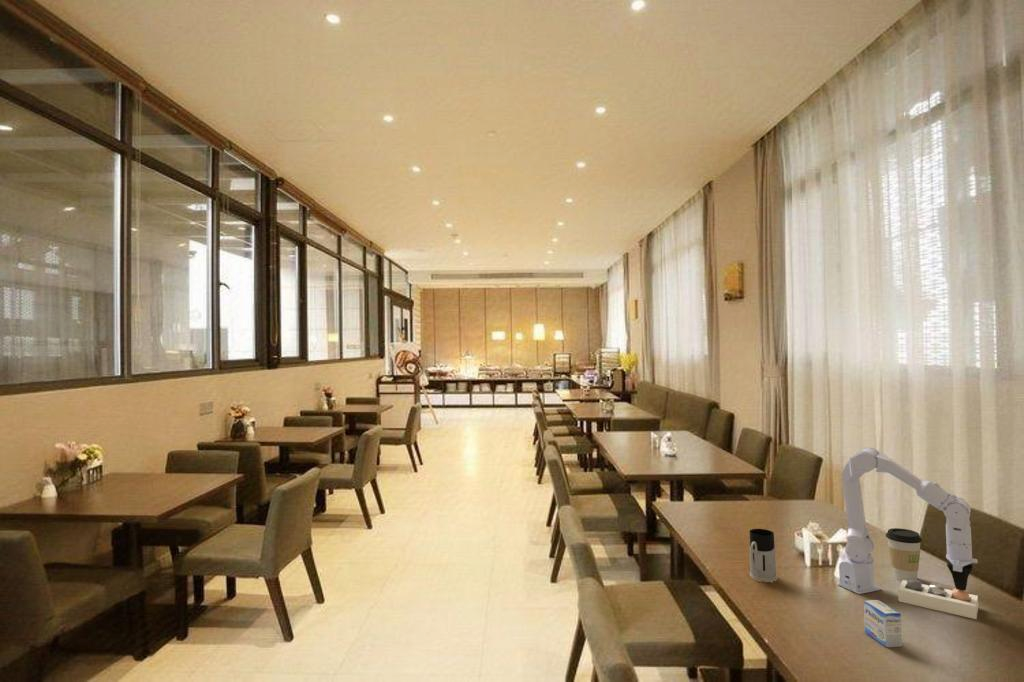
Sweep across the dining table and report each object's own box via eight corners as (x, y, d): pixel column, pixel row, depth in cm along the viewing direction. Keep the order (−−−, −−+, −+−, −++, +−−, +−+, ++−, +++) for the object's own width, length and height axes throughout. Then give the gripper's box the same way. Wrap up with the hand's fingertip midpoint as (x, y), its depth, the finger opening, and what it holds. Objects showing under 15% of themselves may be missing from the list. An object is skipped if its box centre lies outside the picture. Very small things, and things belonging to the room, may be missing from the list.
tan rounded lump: (952, 601, 161) (952, 591, 161) (953, 597, 164) (953, 586, 164) (968, 605, 159) (968, 594, 159) (969, 600, 161) (969, 590, 162)
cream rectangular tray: (898, 601, 168) (898, 589, 168) (903, 591, 174) (902, 579, 174) (976, 619, 156) (975, 606, 156) (978, 607, 162) (977, 595, 162)
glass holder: (781, 576, 188) (779, 531, 188) (766, 590, 178) (764, 542, 178) (754, 570, 194) (753, 526, 194) (738, 583, 184) (737, 537, 184)
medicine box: (864, 632, 150) (863, 600, 150) (879, 631, 151) (878, 599, 151) (886, 648, 142) (884, 613, 142) (902, 647, 143) (901, 612, 143)
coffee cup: (930, 585, 178) (928, 537, 178) (895, 583, 180) (893, 536, 180) (914, 573, 188) (912, 528, 188) (881, 571, 190) (880, 527, 190)
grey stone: (906, 591, 169) (906, 581, 169) (908, 587, 171) (907, 577, 171) (921, 594, 166) (920, 584, 166) (922, 590, 169) (922, 580, 169)
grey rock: (929, 596, 165) (928, 586, 165) (930, 592, 168) (930, 582, 168) (944, 599, 163) (944, 589, 163) (945, 595, 165) (945, 585, 165)
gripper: (975, 551, 154) (977, 601, 153) (978, 537, 164) (980, 584, 164) (942, 546, 158) (944, 594, 158) (947, 533, 169) (949, 578, 169)
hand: (960, 589), depth 161 cm, fingers closed
